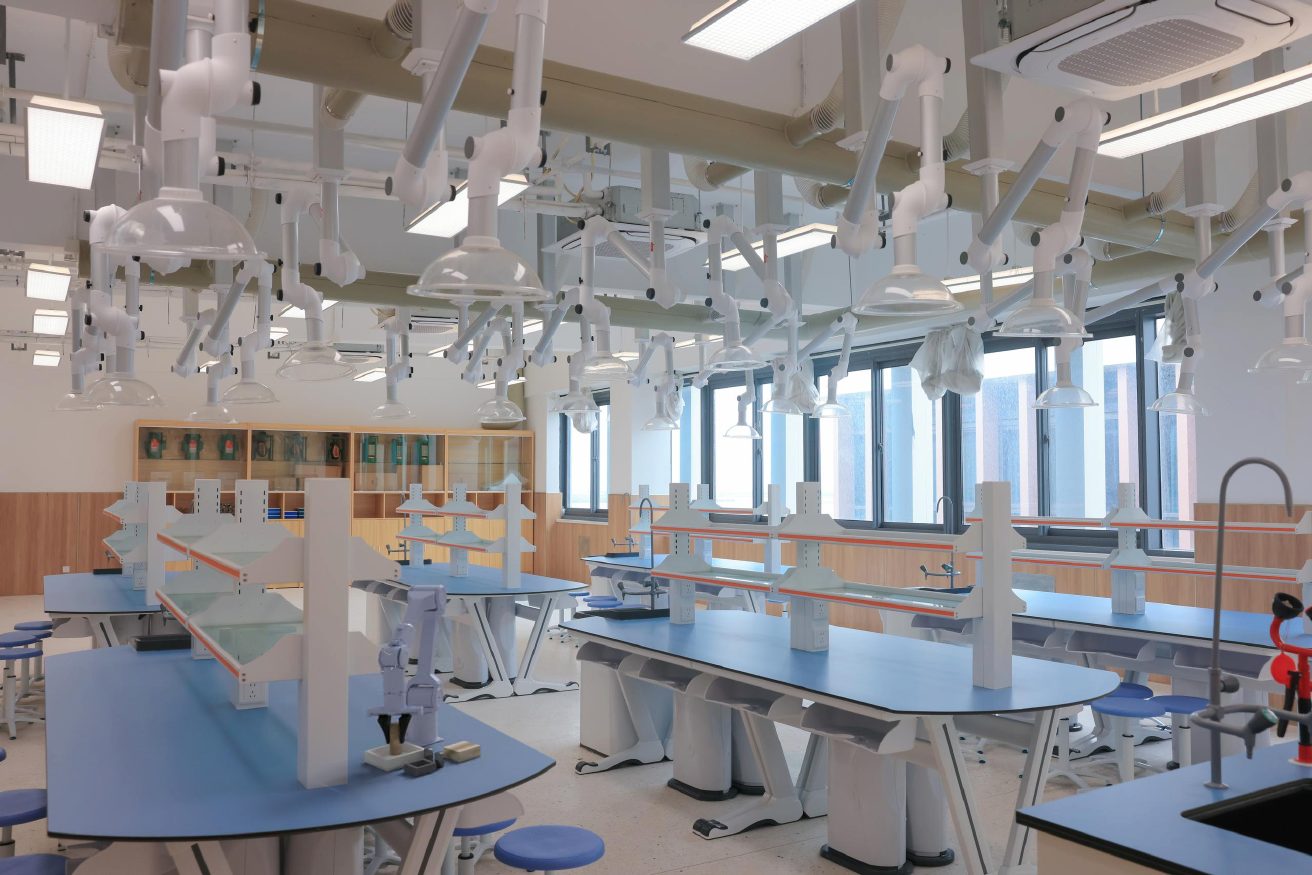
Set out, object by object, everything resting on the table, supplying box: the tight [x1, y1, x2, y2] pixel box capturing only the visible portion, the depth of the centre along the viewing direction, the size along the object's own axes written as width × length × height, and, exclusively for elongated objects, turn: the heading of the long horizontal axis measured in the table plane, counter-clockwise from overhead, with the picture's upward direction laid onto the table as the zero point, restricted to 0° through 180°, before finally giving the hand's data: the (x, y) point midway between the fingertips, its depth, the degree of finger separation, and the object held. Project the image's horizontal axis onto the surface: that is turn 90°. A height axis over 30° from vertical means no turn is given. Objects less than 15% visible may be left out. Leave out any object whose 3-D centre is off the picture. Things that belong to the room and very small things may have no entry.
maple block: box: [442, 740, 482, 763], centre depth 255 cm, size 7×7×3 cm
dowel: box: [389, 721, 402, 756], centre depth 252 cm, size 3×3×8 cm
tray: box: [364, 741, 426, 773], centre depth 252 cm, size 12×12×3 cm
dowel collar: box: [403, 758, 437, 777], centre depth 243 cm, size 6×6×2 cm
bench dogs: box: [424, 747, 445, 769], centre depth 249 cm, size 7×2×4 cm, turn 46°
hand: (395, 742), depth 252 cm, fingers closed on dowel, 3 cm apart
